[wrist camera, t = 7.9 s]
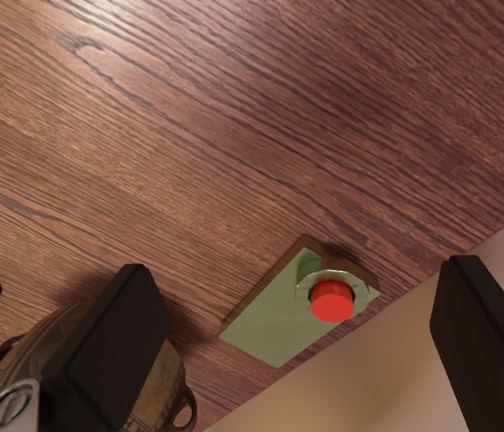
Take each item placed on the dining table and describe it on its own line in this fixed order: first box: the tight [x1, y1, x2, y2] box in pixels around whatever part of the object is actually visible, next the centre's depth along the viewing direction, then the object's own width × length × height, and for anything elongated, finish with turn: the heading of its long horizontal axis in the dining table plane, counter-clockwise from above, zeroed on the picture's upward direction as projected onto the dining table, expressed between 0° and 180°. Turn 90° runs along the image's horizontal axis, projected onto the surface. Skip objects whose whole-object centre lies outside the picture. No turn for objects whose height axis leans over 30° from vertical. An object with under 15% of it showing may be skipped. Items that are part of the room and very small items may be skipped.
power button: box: [311, 280, 354, 322], centre depth 26 cm, size 4×4×2 cm
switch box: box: [217, 234, 381, 368], centre depth 32 cm, size 19×9×4 cm, turn 149°
